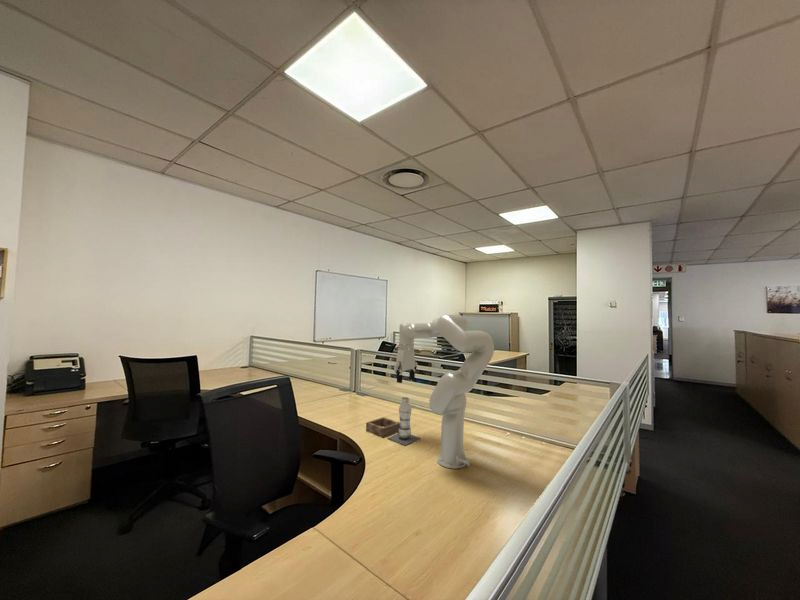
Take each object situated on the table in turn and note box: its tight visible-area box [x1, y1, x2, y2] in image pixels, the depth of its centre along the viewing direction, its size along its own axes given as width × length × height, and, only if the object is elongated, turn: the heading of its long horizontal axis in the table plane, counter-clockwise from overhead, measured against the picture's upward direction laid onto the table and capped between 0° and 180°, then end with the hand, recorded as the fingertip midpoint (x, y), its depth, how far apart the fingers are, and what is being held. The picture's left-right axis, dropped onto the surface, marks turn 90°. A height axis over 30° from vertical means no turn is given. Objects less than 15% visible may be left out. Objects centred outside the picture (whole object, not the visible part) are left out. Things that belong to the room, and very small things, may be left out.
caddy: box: [365, 416, 400, 439], centre depth 174 cm, size 13×13×4 cm
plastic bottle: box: [397, 396, 412, 439], centre depth 164 cm, size 6×7×20 cm
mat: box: [386, 433, 422, 447], centre depth 164 cm, size 12×12×1 cm
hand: (405, 381), depth 165 cm, fingers open, 9 cm apart
